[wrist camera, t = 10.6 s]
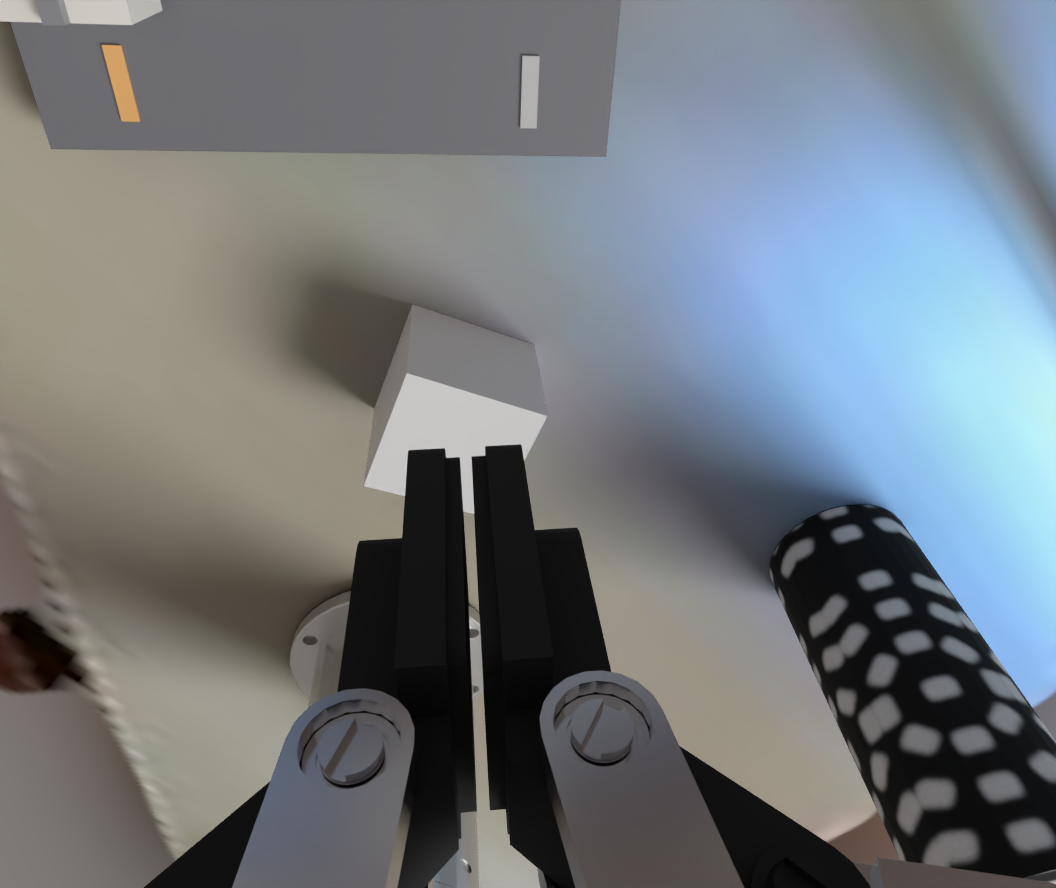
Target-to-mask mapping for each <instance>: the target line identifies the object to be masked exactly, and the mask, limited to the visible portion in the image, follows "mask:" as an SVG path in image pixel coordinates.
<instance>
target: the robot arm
mask: <svg viewBox="0 0 1056 888" xmlns="http://www.w3.org/2000/svg"><path fill="white" fill-rule="evenodd" d="M472 477H473V497H474V516H475V536H476V556H477V576H478V595H479V613H478V612H477V611H476V610H475V609H474V608H472V607H471V606H469V600H468V582H467V565H466V549H465V533H464V516H463V500H462V484H461V467H460V457H453V458H446V452H445V448H440V449H421V450H409V451H408V459H407V474H406V490H405V505H404V521H403V536H402V538H399V539H383V540H367V541H359V543H358V546H357V551H356V558H355V565H354V573H353V580H352V587H351V591H348V592H345V593H342V594H340V595H338V596H336V597H333V598H331V599H329V600H327V601H325V602H324V603H322V604H321V605H319V606H318V607H316V608H315V609H313V610H312V611H311V612H310V613H309V614H308V615H307V616H306V617H305V618H304V620H303V621H302V622H301V623H300V625H299V627H298V629H297V630H296V632H295V634H294V639H293V643H292V647H291V652H290V667H291V671H292V676H293V677H294V679H295V681H296V683H297V684H298V686H299V688H300V689H301V690H302V691H303V692H304V693H305V694H306V695H307V696H308V697H309V704H308V709H307V710H306V711H305V712H304V713H303V714H302V715H301V716H300V717H299V718H298V719H297V720H296V721H295V722H294V724H293V726H292V728H291V730H290V732H289V733H288V735H287V737H286V739H285V742H284V745H283V747H282V750H281V753H280V756H279V758H278V761H277V764H276V767H275V770H274V772H273V775H272V778H271V781H270V782H269V783H268V784H267V785H265V786H264V787H263V788H262V789H261V790H259V791H258V792H257V793H256V794H255V795H253V796H252V797H251V798H250V799H249V800H248V801H246V802H245V803H244V804H243V805H242V806H240V807H239V808H238V809H237V810H236V811H234V812H233V813H232V814H231V815H230V816H228V817H227V818H226V819H225V820H224V821H223V822H221V823H220V824H219V825H218V826H217V827H215V828H214V829H213V830H212V831H211V832H209V833H208V834H207V835H206V836H205V837H203V838H202V839H201V840H200V841H199V842H197V843H196V844H195V845H194V846H193V847H192V848H190V849H189V850H188V851H187V852H186V853H184V854H183V855H182V856H181V857H180V858H178V859H177V860H176V861H175V862H174V863H172V864H171V865H170V866H169V867H168V868H167V869H165V870H164V871H163V872H162V873H161V874H159V875H158V876H157V877H156V878H155V879H153V880H152V881H151V882H150V883H149V884H147V885H146V886H145V887H144V888H479V870H478V839H477V804H476V777H475V747H474V716H473V699H475V698H476V697H477V696H478V695H479V694H481V692H482V691H483V690H484V707H485V725H486V744H487V762H488V781H489V799H490V810H498V809H506V816H507V830H508V834H510V845H511V846H513V847H514V848H515V849H516V850H517V851H519V852H520V853H521V854H522V855H523V856H524V857H526V858H527V859H528V860H529V861H530V862H532V863H533V864H534V865H535V866H536V867H537V868H538V876H539V883H540V887H541V888H1056V884H1054V883H1050V882H1045V881H1038V880H1032V879H1025V878H1018V877H1011V876H1004V875H997V874H991V873H984V872H977V871H970V870H963V869H956V868H949V867H943V866H936V865H929V864H922V863H915V862H908V861H902V860H894V859H888V858H881V857H877V858H876V860H875V862H874V864H873V865H871V864H864V863H857V862H851V861H850V860H849V859H848V858H846V857H845V856H844V855H843V854H841V853H840V852H839V851H838V850H837V849H836V848H834V847H833V846H832V845H830V844H828V843H827V842H825V841H824V840H822V839H821V838H819V837H818V836H816V835H815V834H813V833H812V832H810V831H809V830H807V829H806V828H804V827H802V826H801V825H799V824H798V823H796V822H795V821H793V820H792V819H790V818H789V817H787V816H786V815H784V814H783V813H781V812H780V811H778V810H776V809H775V808H773V807H772V806H770V805H769V804H767V803H766V802H764V801H763V800H761V799H760V798H758V797H757V796H755V795H753V794H752V793H750V792H749V791H747V790H746V789H744V788H743V787H741V786H740V785H738V784H737V783H735V782H734V781H732V780H731V779H729V778H727V777H726V776H724V775H723V774H721V773H720V772H718V771H717V770H715V769H714V768H712V767H711V766H709V765H708V764H706V763H704V762H703V761H701V760H700V759H698V758H697V757H695V756H694V755H692V754H691V753H689V752H688V751H686V750H685V749H683V748H682V747H680V746H679V744H678V742H677V740H676V738H675V736H674V734H673V731H672V729H671V727H670V725H669V723H668V721H667V718H666V716H665V714H664V712H663V710H662V708H661V706H660V705H659V703H658V702H657V700H656V699H655V697H654V696H653V694H652V693H651V692H649V691H648V690H647V689H646V688H645V687H643V686H642V685H641V684H640V683H639V682H637V681H635V680H633V679H631V678H629V677H626V676H624V675H622V674H619V673H613V672H611V669H610V665H609V660H608V656H607V651H606V647H605V642H604V638H603V633H602V629H601V625H600V620H599V616H598V611H597V607H596V602H595V598H594V593H593V589H592V585H591V580H590V576H589V571H588V567H587V562H586V558H585V553H584V549H583V545H582V540H581V536H580V533H579V530H578V529H577V528H564V529H548V530H534V524H533V517H532V511H531V504H530V497H529V491H528V484H527V478H526V471H525V464H524V458H523V451H522V446H521V444H517V445H498V446H485V456H472Z"/></svg>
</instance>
